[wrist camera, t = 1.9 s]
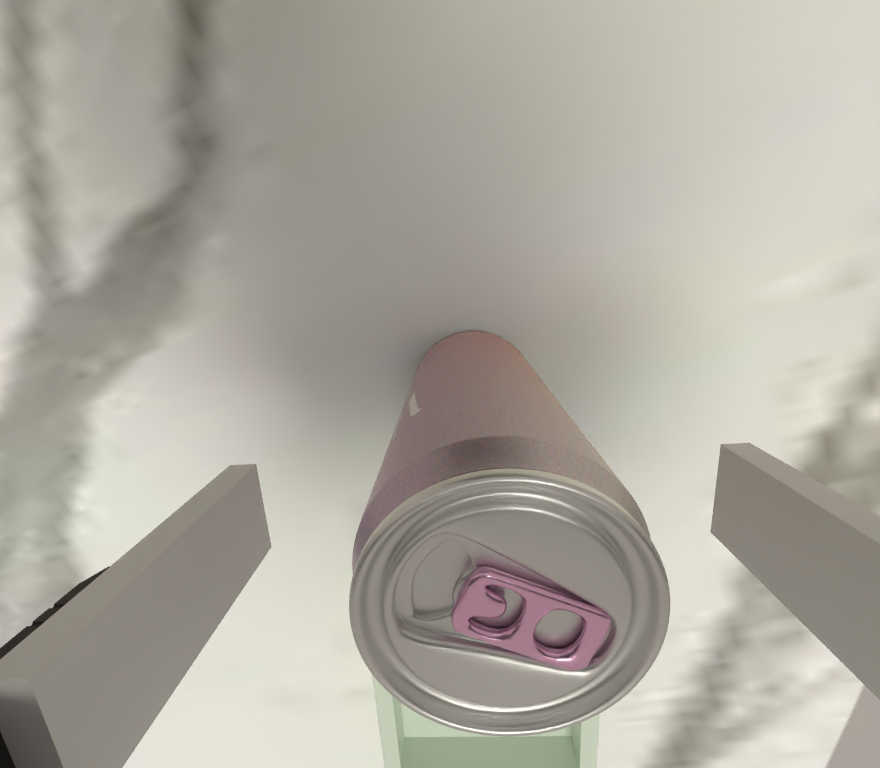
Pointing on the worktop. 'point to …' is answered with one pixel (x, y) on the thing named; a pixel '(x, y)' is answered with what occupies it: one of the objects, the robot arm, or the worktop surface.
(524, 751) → the tray
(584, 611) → the beverage can
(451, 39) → the worktop surface
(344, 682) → the worktop surface
